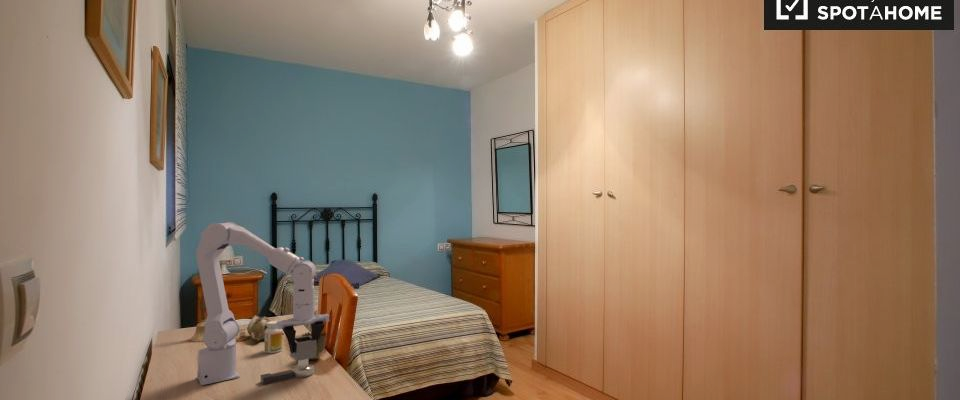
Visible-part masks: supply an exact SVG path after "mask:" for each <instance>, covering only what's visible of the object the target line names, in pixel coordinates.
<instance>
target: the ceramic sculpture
mask: <svg viewBox="0 0 960 400" xmlns="http://www.w3.org/2000/svg"><path fill="white" fill-rule="evenodd" d="M270 321H271V320H270V319H269V318H267V317H266V316H265V315H260V316H258V315H253V317H252V318H251V319H250V321H249V322H248V325H247V326H246V331H247V333H248V335H250V338H251V340H252V341H253V342H259V341H262V340H263V341H265V330H266V329H267V328H268V327H267V322H270ZM282 336H285V333H284V332H282Z"/></svg>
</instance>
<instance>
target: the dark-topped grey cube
mask: <svg viewBox="0 0 960 400" xmlns="http://www.w3.org/2000/svg"><path fill="white" fill-rule="evenodd" d="M310 335H311V334H310ZM310 335H309V336H304V337H302V336H299V337H295V353H292V352H290V351H289V352H290V353H289V355H290V357H291V358H292V359H293V360H294V361H296V362H298V361H300V360H305V359H308V360H309V358H314V357H316V347H317V340H316V339H315V338H313V337H311V336H310Z"/></svg>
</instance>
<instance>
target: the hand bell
mask: <svg viewBox="0 0 960 400" xmlns="http://www.w3.org/2000/svg"><path fill="white" fill-rule="evenodd" d="M199 310H200V313H201V315H200V322H199V323H197V324H196V328H195V332H194V334H193V336H191V337H190V339H189V340H190V342H193V343H194V342H195V343H204V341H203V335H204V332H205V327H204V324H205V321H206V318H207V309H206V304H205V299H204V294H202V295H201V296H200V299H199Z"/></svg>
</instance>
